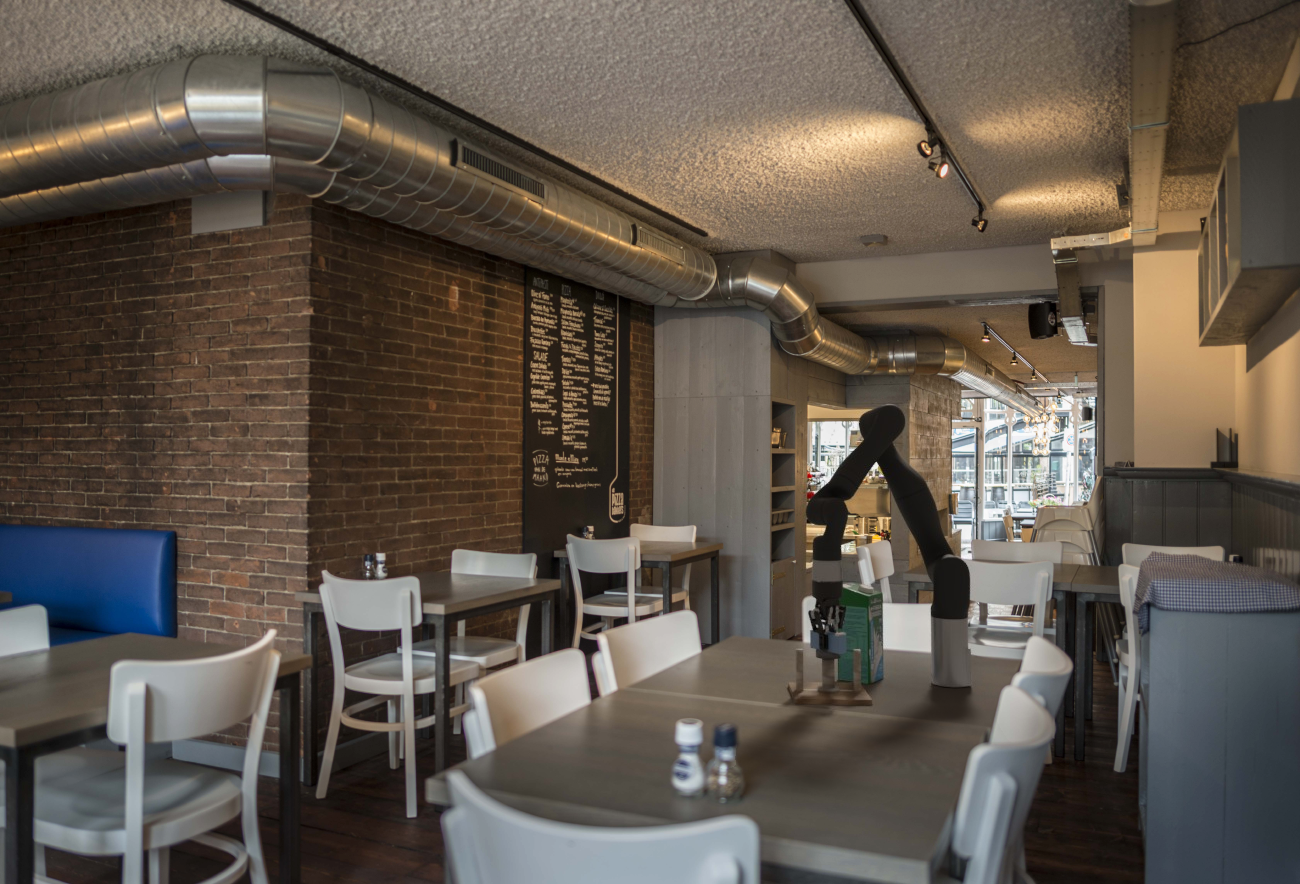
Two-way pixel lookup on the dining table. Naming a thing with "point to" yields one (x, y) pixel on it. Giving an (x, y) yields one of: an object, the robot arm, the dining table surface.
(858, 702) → the base plate
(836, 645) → the blue long block
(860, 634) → the milk carton
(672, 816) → the dining table surface
